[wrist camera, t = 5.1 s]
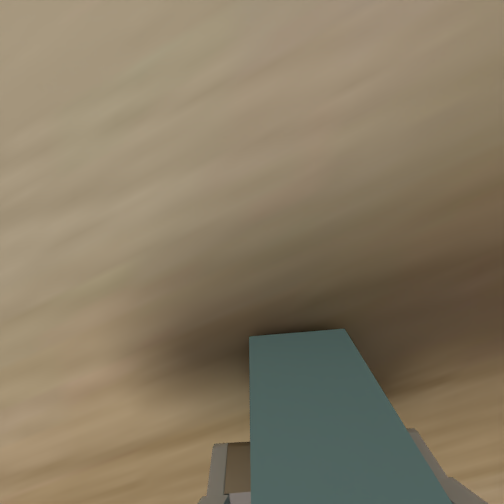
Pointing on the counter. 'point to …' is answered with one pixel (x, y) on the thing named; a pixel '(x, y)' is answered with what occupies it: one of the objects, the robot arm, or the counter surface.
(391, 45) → the counter surface
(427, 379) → the counter surface
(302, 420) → the block
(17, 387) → the counter surface
